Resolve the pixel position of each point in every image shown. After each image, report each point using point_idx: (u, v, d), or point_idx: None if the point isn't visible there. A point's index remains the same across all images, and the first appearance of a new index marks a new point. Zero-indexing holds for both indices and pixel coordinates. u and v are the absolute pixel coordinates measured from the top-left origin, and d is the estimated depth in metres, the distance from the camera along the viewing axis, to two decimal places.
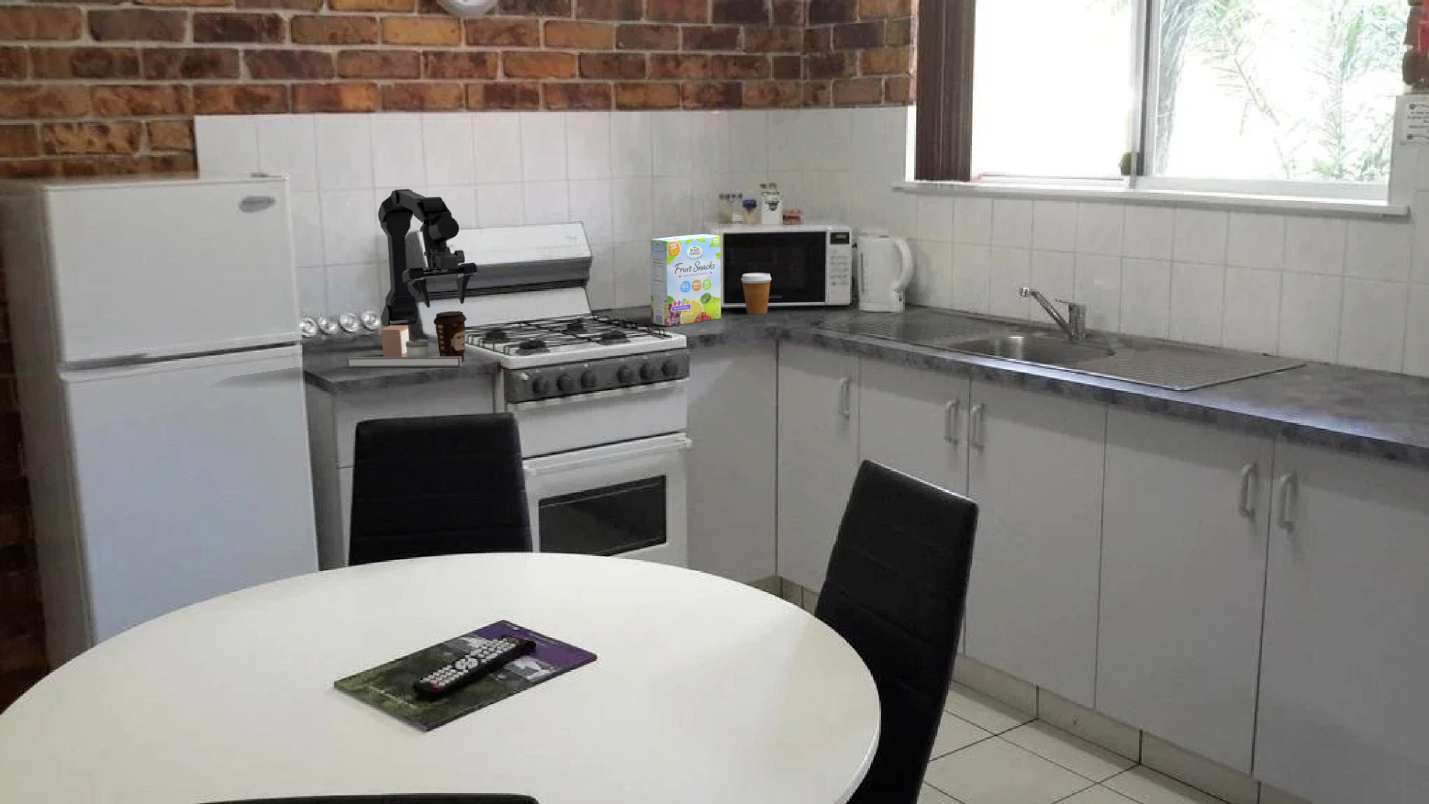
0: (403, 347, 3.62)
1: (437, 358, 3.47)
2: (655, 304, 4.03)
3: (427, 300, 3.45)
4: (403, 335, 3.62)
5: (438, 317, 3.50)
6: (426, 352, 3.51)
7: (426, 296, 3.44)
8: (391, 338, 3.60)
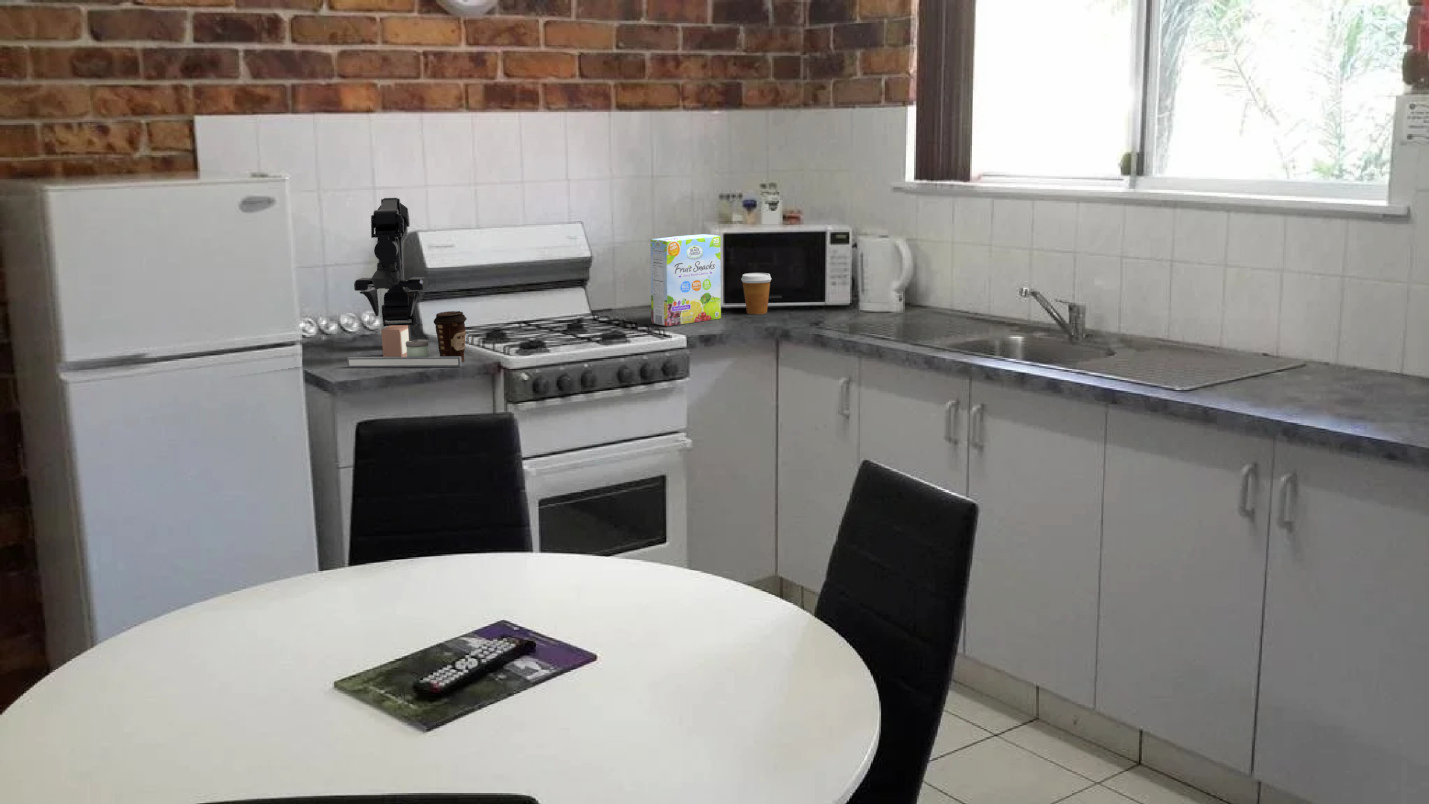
0: (403, 347, 3.62)
1: (437, 358, 3.47)
2: (655, 304, 4.03)
3: (374, 310, 3.61)
4: (403, 335, 3.62)
5: (438, 317, 3.50)
6: (426, 352, 3.51)
7: (373, 306, 3.61)
8: (391, 338, 3.60)
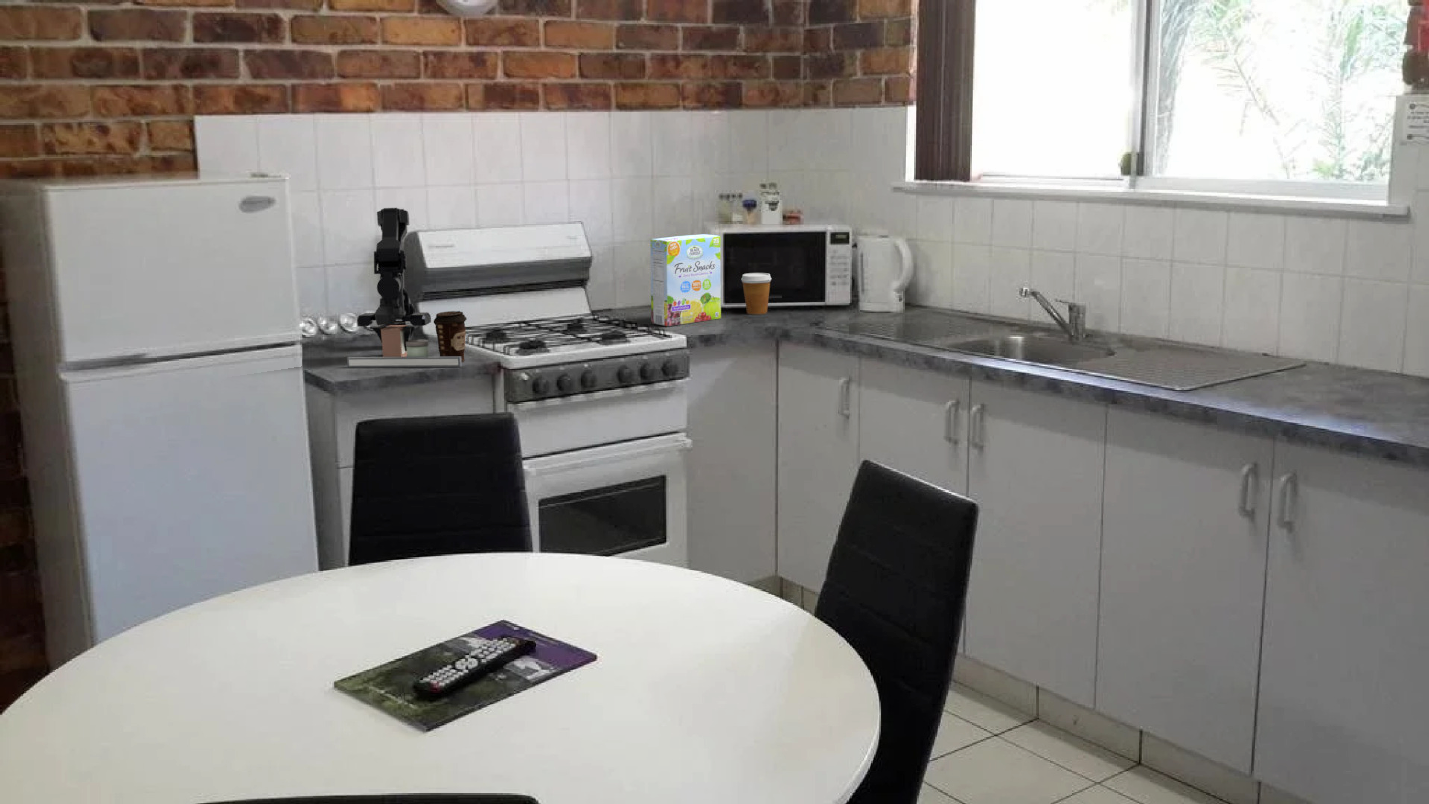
0: (403, 347, 3.62)
1: (437, 358, 3.47)
2: (655, 304, 4.03)
3: None
4: (403, 335, 3.62)
5: (438, 317, 3.50)
6: (426, 352, 3.51)
7: None
8: (391, 338, 3.60)
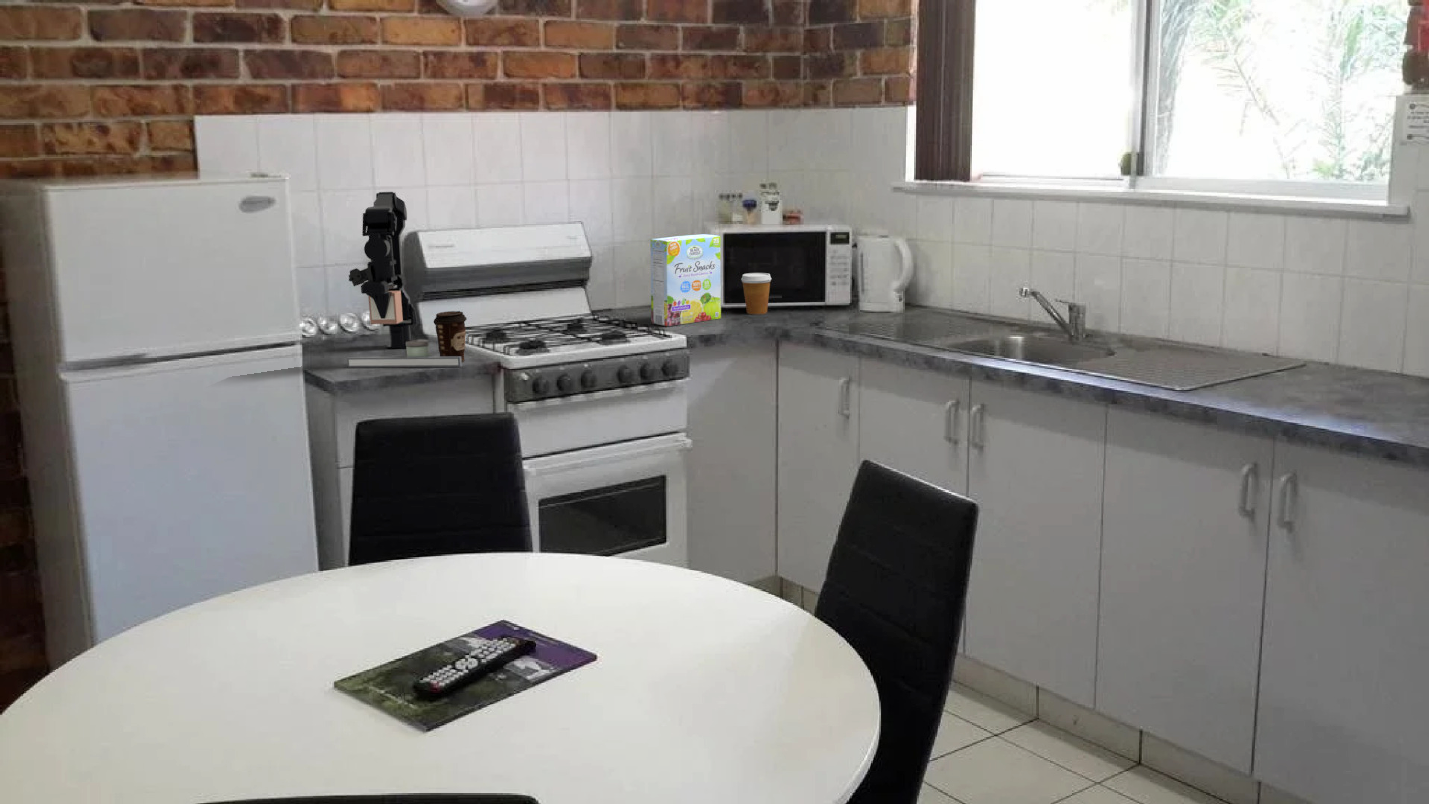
0: (376, 313, 3.49)
1: (437, 358, 3.47)
2: (655, 304, 4.03)
3: None
4: None
5: (438, 317, 3.50)
6: (426, 352, 3.51)
7: None
8: None
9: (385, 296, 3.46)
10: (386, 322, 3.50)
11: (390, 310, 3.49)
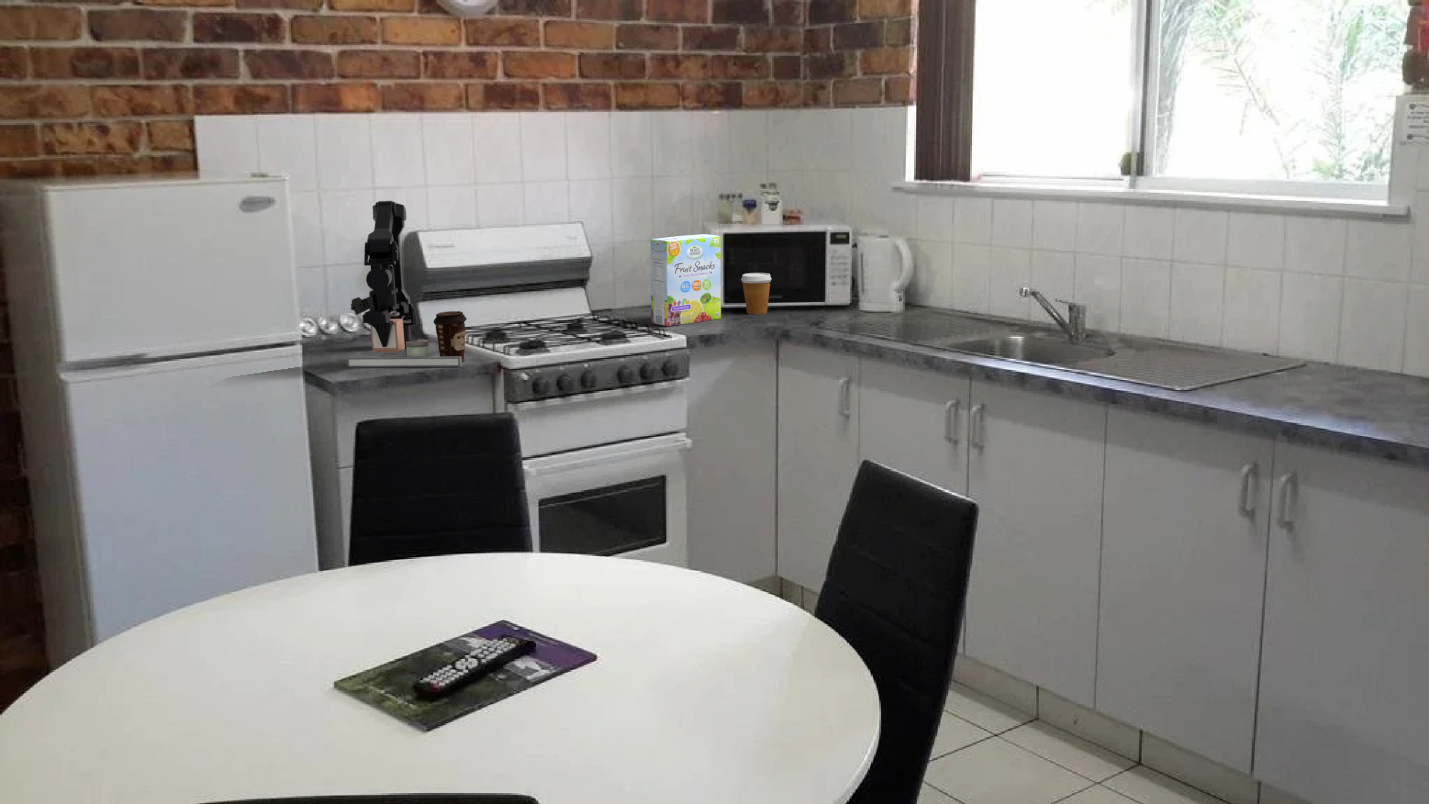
0: (377, 341, 3.51)
1: (437, 358, 3.47)
2: (655, 304, 4.03)
3: None
4: None
5: (438, 317, 3.50)
6: (426, 352, 3.51)
7: None
8: None
9: (386, 325, 3.47)
10: (388, 350, 3.51)
11: (392, 339, 3.50)
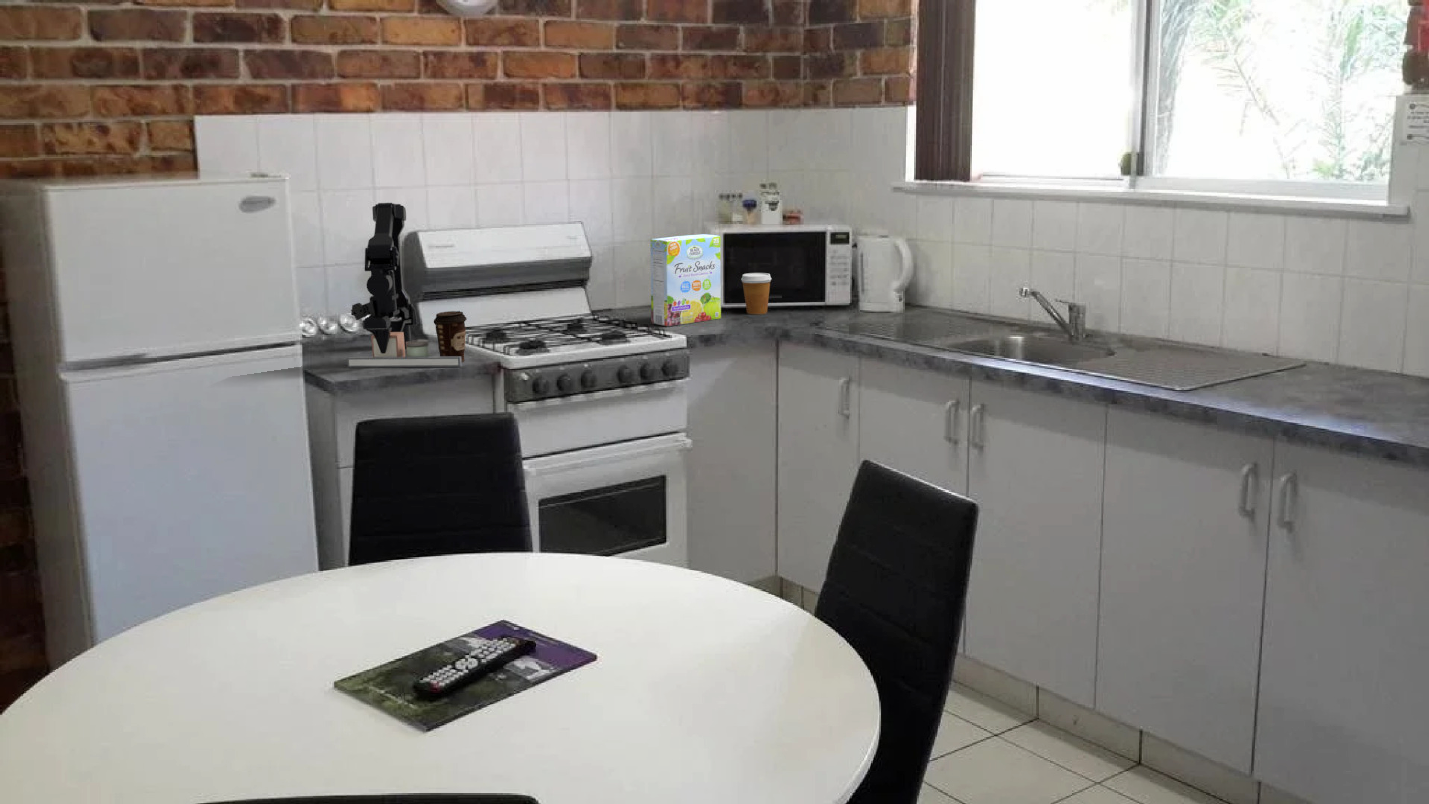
0: (378, 354, 3.52)
1: (437, 358, 3.47)
2: (655, 304, 4.03)
3: None
4: None
5: (438, 317, 3.50)
6: (426, 352, 3.51)
7: None
8: None
9: (385, 331, 3.46)
10: None
11: (393, 352, 3.51)
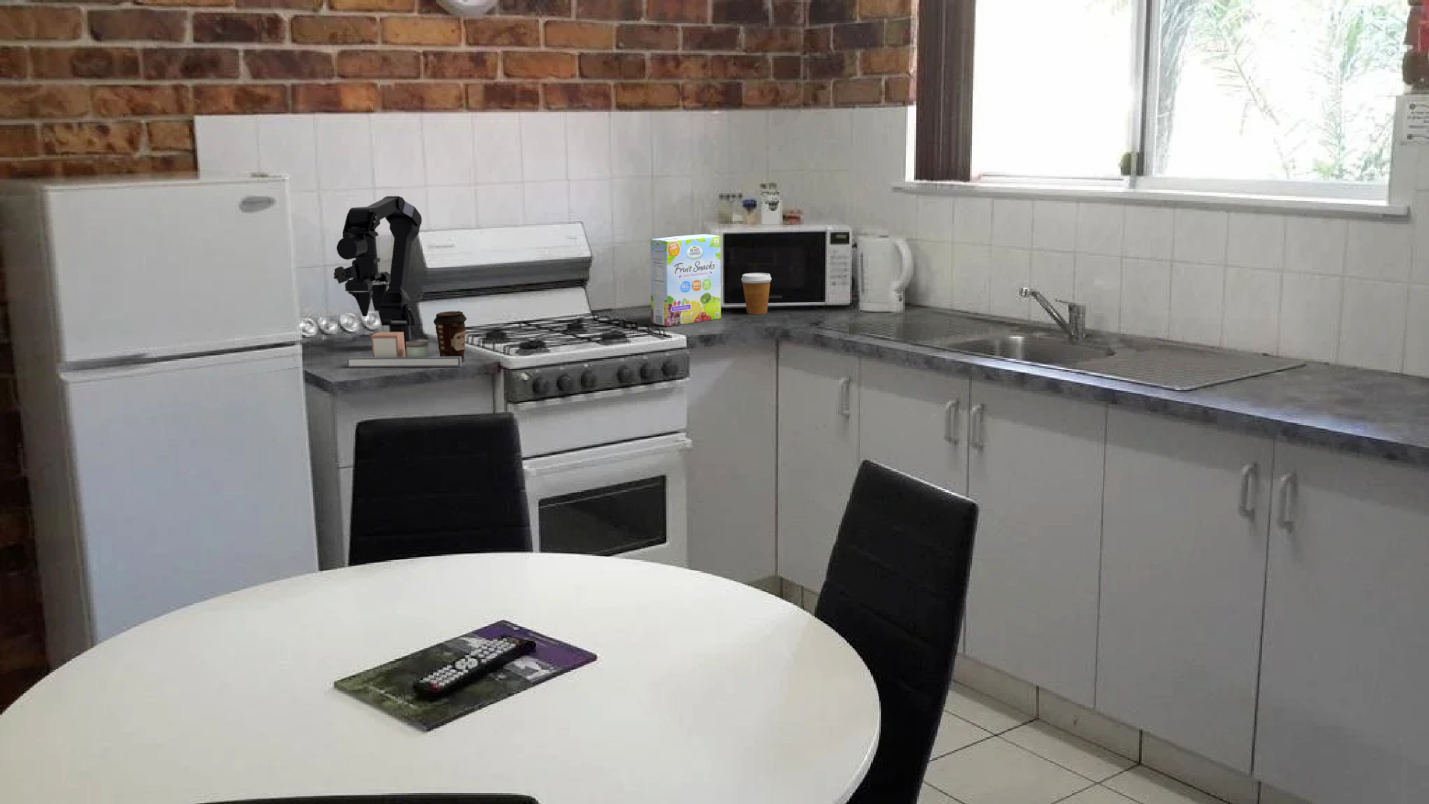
0: (378, 354, 3.52)
1: (437, 358, 3.47)
2: (655, 304, 4.03)
3: None
4: (380, 343, 3.51)
5: (438, 317, 3.50)
6: (426, 352, 3.51)
7: None
8: None
9: (366, 294, 3.54)
10: None
11: (393, 352, 3.51)
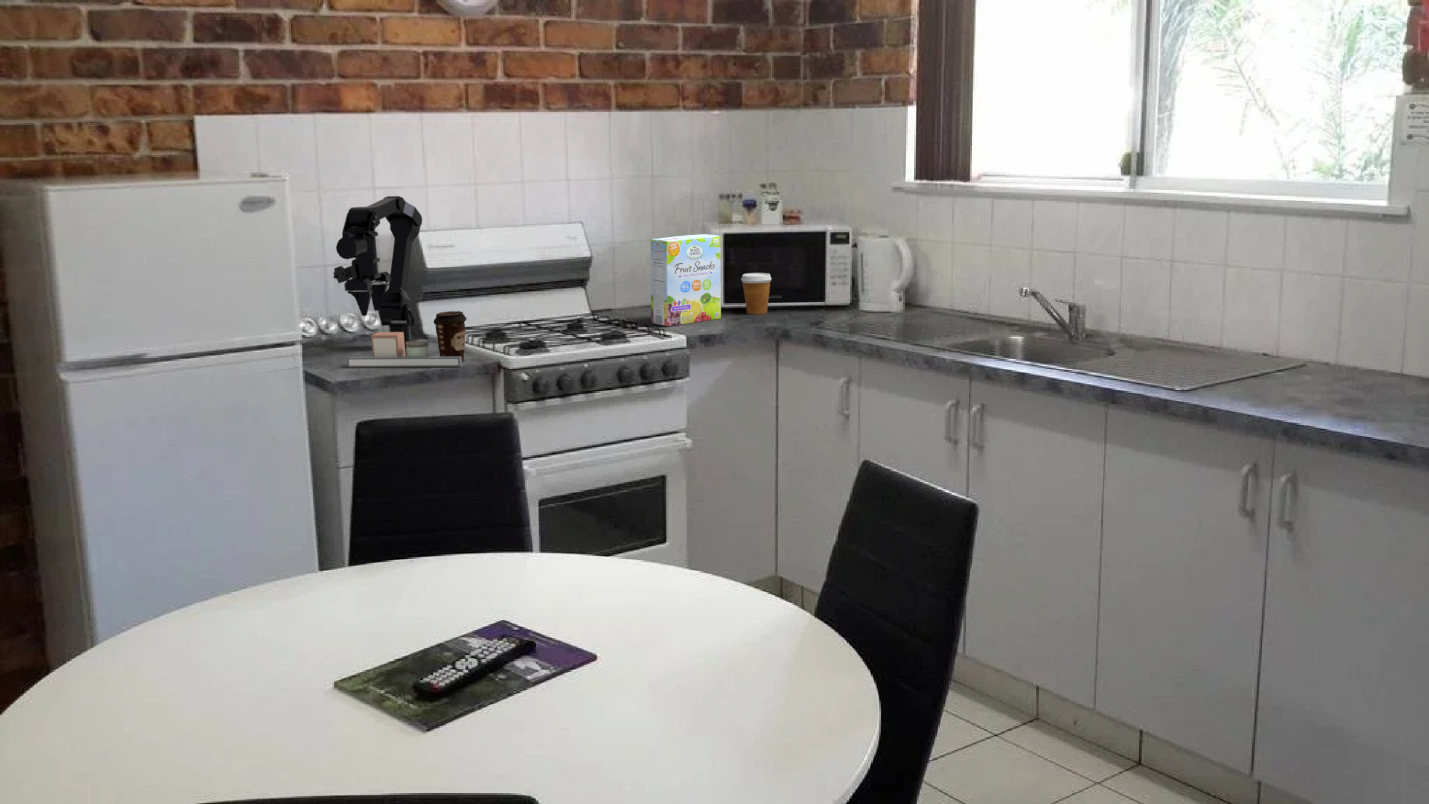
0: (378, 354, 3.52)
1: (437, 358, 3.47)
2: (655, 304, 4.03)
3: None
4: (380, 343, 3.51)
5: (438, 317, 3.50)
6: (426, 352, 3.51)
7: None
8: None
9: (366, 294, 3.54)
10: None
11: (393, 352, 3.51)
